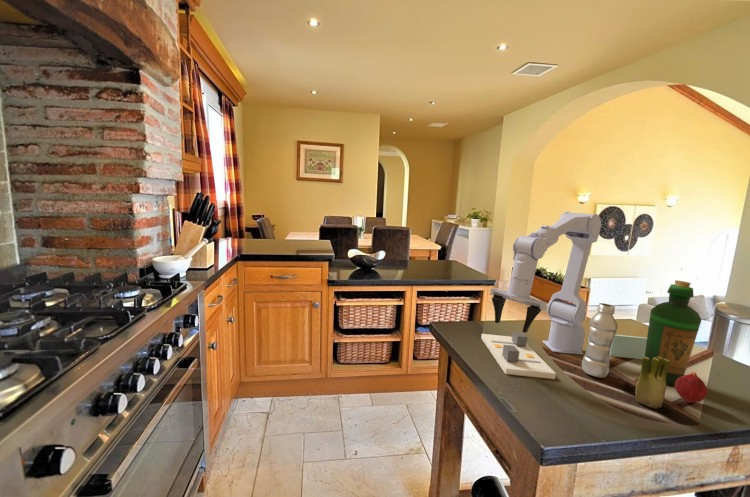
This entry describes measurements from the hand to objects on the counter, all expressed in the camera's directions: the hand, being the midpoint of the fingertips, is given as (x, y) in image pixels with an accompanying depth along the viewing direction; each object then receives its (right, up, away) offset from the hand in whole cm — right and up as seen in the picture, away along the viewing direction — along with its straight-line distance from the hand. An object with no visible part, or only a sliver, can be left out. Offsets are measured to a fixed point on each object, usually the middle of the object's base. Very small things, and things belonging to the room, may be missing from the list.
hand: (510, 327), depth 95 cm
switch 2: (+8, -8, +13) cm, 17 cm away
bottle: (+43, -15, +1) cm, 45 cm away
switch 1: (0, -9, +1) cm, 9 cm away
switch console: (+4, -10, +7) cm, 13 cm away
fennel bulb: (+27, -16, -13) cm, 34 cm away
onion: (+39, -16, -11) cm, 44 cm away
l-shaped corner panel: (+43, -13, +20) cm, 50 cm away
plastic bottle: (+23, -13, 0) cm, 26 cm away
